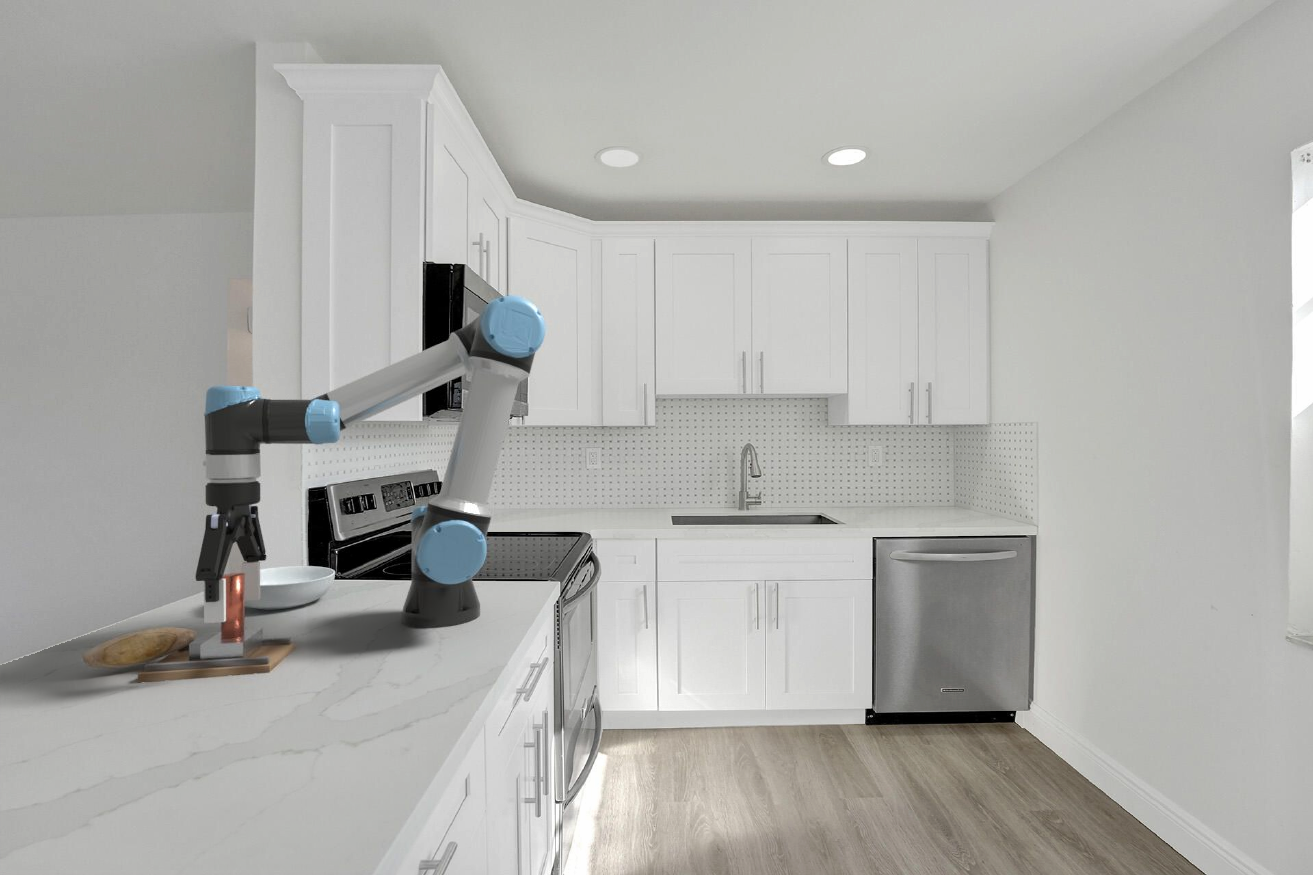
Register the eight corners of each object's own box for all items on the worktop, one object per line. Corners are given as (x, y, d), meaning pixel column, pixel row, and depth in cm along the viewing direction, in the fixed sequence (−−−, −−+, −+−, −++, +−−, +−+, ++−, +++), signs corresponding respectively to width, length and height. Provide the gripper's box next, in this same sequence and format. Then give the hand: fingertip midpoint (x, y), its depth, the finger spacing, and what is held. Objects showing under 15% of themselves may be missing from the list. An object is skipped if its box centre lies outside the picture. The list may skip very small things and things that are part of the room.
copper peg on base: (262, 645, 110) (262, 569, 110) (243, 661, 102) (243, 579, 102) (209, 648, 108) (210, 571, 108) (185, 664, 101) (186, 581, 101)
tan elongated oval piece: (192, 618, 107) (192, 619, 110) (78, 644, 98) (82, 644, 102) (197, 649, 106) (196, 649, 110) (83, 679, 98) (86, 678, 101)
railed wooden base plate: (295, 650, 113) (295, 636, 113) (269, 675, 101) (269, 659, 101) (178, 657, 109) (178, 642, 109) (138, 683, 97) (138, 667, 97)
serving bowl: (303, 618, 133) (303, 585, 133) (202, 618, 133) (202, 584, 133) (352, 594, 154) (352, 565, 154) (265, 593, 154) (265, 564, 154)
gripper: (239, 476, 117) (240, 593, 117) (166, 486, 93) (167, 634, 93) (285, 475, 119) (286, 590, 119) (225, 485, 94) (226, 631, 94)
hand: (234, 610), depth 106 cm, fingers open, 13 cm apart
